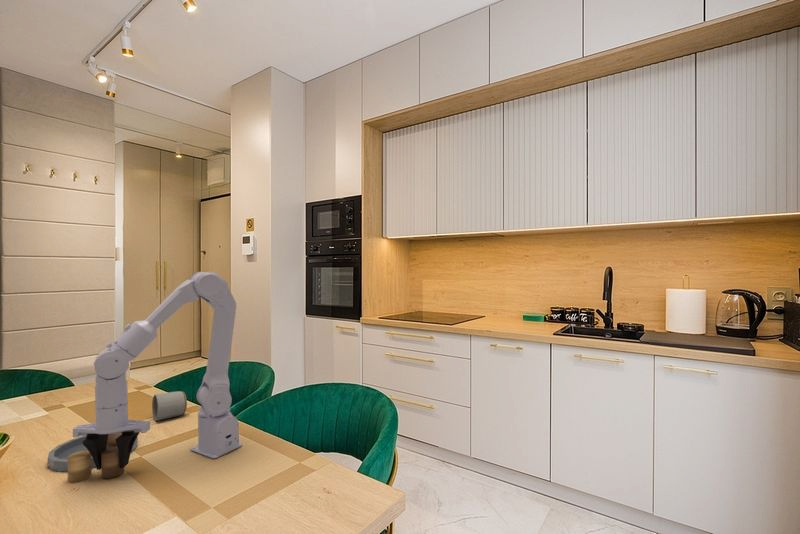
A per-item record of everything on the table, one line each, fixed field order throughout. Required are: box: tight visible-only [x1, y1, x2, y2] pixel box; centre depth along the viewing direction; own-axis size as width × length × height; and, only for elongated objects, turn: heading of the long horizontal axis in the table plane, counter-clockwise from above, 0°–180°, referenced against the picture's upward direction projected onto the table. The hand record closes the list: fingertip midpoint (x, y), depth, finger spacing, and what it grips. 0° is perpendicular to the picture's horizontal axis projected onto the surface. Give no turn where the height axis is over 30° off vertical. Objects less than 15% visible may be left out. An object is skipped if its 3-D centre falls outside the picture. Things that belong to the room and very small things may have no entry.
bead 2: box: [106, 433, 122, 449], centre depth 96 cm, size 4×4×5 cm
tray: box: [47, 435, 139, 473], centre depth 96 cm, size 17×17×2 cm
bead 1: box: [67, 450, 93, 484], centre depth 85 cm, size 4×4×5 cm
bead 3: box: [100, 446, 125, 479], centre depth 86 cm, size 4×4×5 cm
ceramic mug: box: [151, 390, 188, 422], centre depth 121 cm, size 11×8×8 cm
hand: (112, 466), depth 86 cm, fingers closed on bead 3, 4 cm apart
